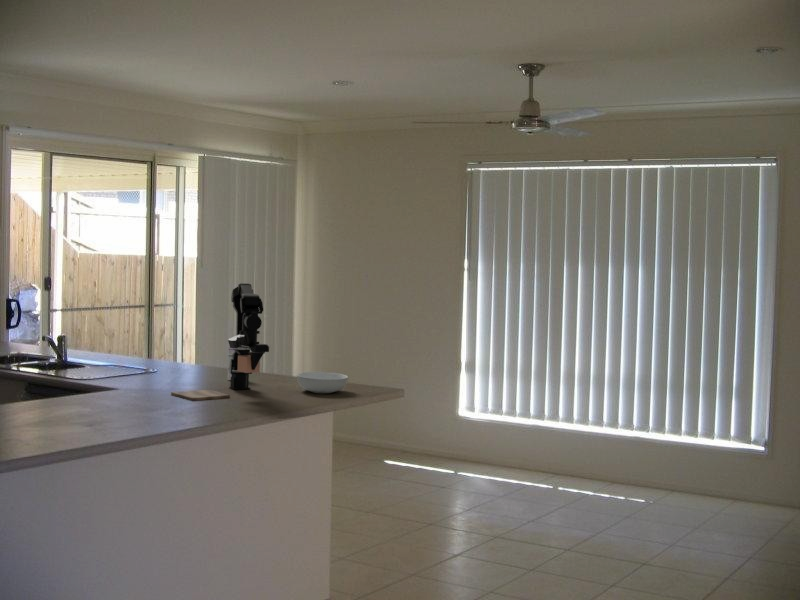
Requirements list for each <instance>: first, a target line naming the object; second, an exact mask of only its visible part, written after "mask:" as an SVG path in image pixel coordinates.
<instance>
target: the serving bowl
mask: <svg viewBox="0 0 800 600" xmlns="http://www.w3.org/2000/svg"><path fill="white" fill-rule="evenodd" d="M348 380H349V376H348V375H347V374H343V373H339V372H330V371H329V372H327V371H305V372H300V373H296V381H297V383H298V385H299V386H300V387H301V388H303V389H304V390H306V391H309V392H311V393H313V394H331V393H334V392H339V391H342V390H343V389H344V388H345V387H346V385H347V383H348Z"/></svg>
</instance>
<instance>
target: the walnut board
mask: <svg viewBox="0 0 800 600" xmlns="http://www.w3.org/2000/svg"><path fill="white" fill-rule="evenodd" d="M170 395H171V396H174V397H178V398H180V399H185V400H187V401H188V400H189V401H191V402H194V401H196V402H197V401H205V400H207V401H208V400H220V399H231V395H230V394H227V393H223V392H220V391H215V390H212V389H197V390H185V391H184V390H183V391H172V392H171V393H170Z"/></svg>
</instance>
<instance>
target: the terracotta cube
mask: <svg viewBox="0 0 800 600" xmlns="http://www.w3.org/2000/svg"><path fill="white" fill-rule="evenodd" d="M260 365H261V359H260V360H259V362H258V364H257V366H256V368H255V370H252V367H251V356H250V355H238V369H237V371H239V372H244V373H252V374H253V373H254V374H255V373H260Z"/></svg>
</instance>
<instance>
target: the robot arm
mask: <svg viewBox="0 0 800 600" xmlns="http://www.w3.org/2000/svg"><path fill="white" fill-rule="evenodd" d="M230 296H231V300H230V301H231V303H232V307H233V309H234V312H235V313H236V327H235V328H236V329H235V330H236V333H235V335H234V336H233V337H232V336H231V337H230V338H228V339H227V341H228V342H227V343H228V346H229V347H230V348H235V349H234V351H235V352H234V353H233V355H232V359H231V361H230V367H229V373H230V374H232V377H231V381H230V384H229V385H230V386H229V387H228V388H229V389H233V390H249V389H251V386H250V387H249V383H250V382H249V380H250V375H252V374H253V373H244V372H239V371H232V370H237V369H238V355H250V356H251V367H252V370H255V368H256V366H257V364H258V362H259V360H260V361H261V359H262V357H263V355H264V354H265V353H269V352H270V346H269V345H268V344H267V343H266V344H265V343H260V341H258V335H260V334H261V331H260V328H261V327H262V323H263V322H262V319H261V317H260V316H259V314H260V315H261V314H262V315H263V312H264V305H263V304H264V303H263V301H262V298H260V295H259V294H256V293H254V289H253V287H252V284H250V283H242V282H241V283H239V284H238V286H236V287H235V288H233V289H232V292H231V295H230Z"/></svg>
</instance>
